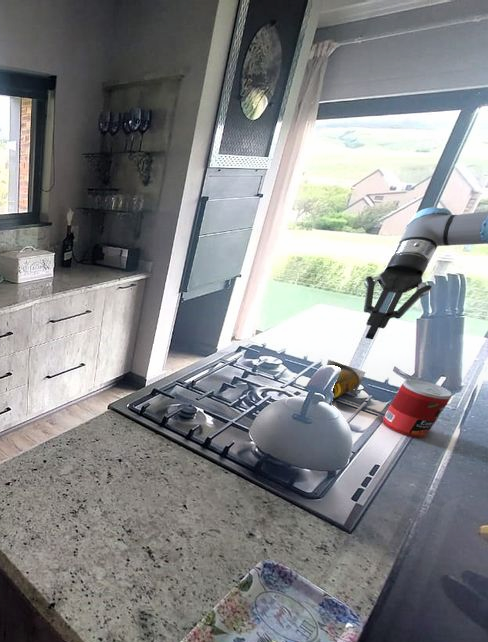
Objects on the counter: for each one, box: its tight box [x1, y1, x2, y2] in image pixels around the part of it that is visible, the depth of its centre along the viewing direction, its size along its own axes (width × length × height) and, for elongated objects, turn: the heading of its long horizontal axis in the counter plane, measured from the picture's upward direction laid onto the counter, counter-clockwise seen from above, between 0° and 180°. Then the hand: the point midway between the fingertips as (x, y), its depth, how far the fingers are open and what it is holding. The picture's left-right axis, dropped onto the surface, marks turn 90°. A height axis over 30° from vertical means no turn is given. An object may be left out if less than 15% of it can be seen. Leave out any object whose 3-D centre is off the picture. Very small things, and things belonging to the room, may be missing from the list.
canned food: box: [382, 378, 453, 438], centre depth 92 cm, size 8×8×11 cm
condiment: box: [326, 359, 366, 399], centre depth 107 cm, size 7×8×12 cm
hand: (370, 336), depth 104 cm, fingers closed
